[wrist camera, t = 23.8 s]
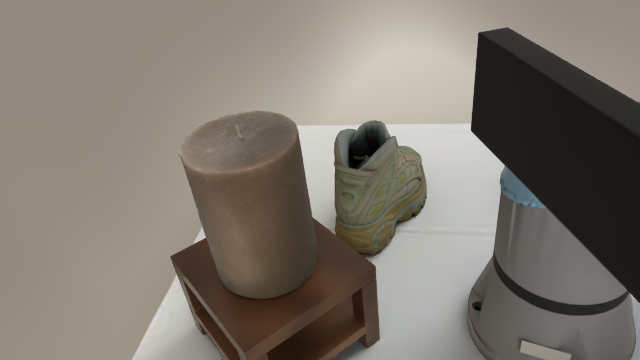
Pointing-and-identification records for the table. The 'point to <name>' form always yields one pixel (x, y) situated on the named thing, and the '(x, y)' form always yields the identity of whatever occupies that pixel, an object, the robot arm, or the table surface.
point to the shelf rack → (286, 306)
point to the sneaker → (374, 186)
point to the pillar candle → (253, 201)
